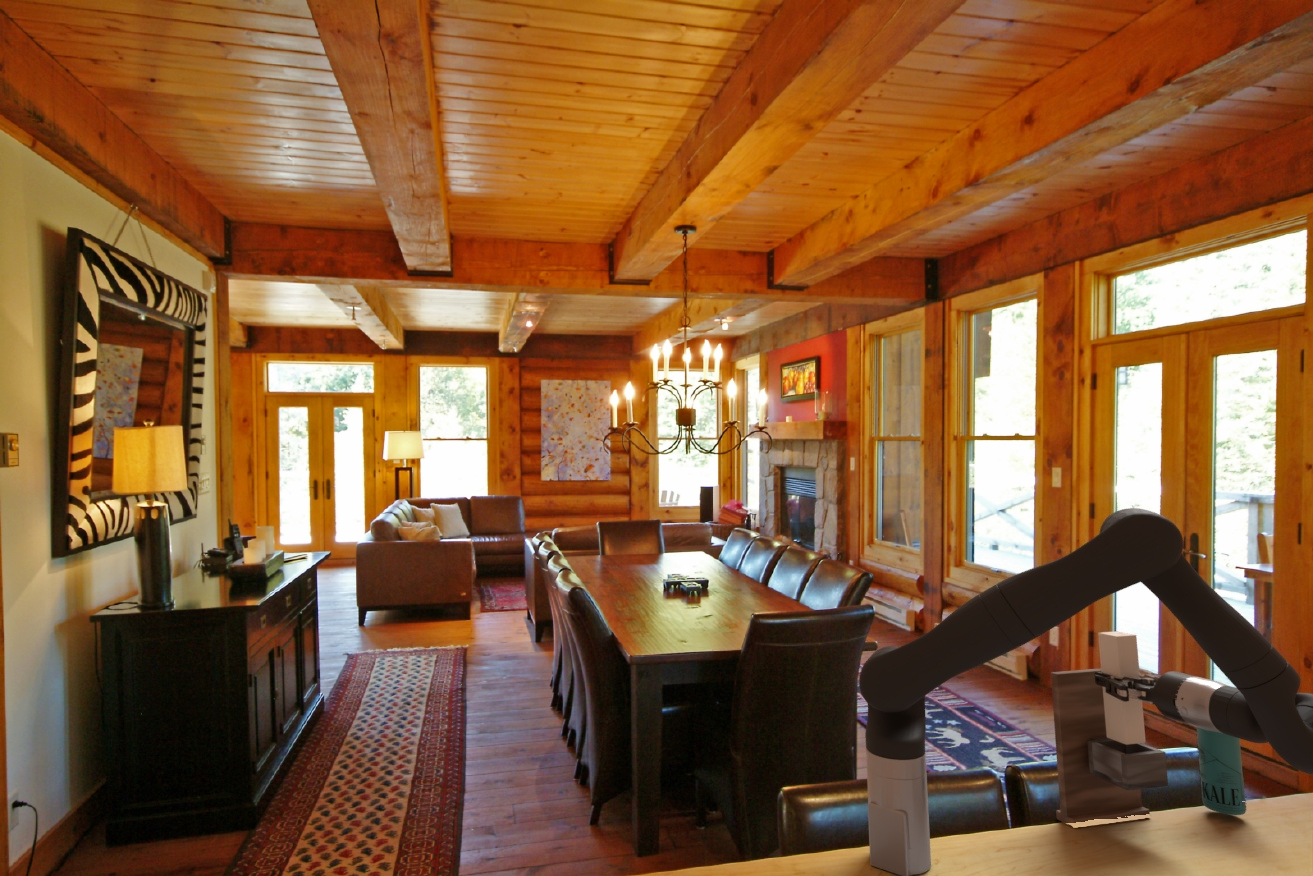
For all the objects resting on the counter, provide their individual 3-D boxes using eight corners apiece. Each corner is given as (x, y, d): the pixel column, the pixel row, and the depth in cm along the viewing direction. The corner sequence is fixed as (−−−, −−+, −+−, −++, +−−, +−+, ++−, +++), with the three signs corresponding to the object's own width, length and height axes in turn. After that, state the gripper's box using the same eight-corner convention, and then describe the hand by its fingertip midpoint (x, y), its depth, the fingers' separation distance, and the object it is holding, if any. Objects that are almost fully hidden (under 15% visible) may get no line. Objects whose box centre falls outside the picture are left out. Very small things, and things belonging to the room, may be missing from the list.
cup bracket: (1192, 839, 119) (1179, 680, 122) (1112, 850, 116) (1100, 687, 118) (1130, 809, 131) (1119, 665, 133) (1056, 819, 128) (1046, 671, 130)
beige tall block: (1145, 742, 121) (1136, 635, 123) (1126, 744, 121) (1116, 636, 122) (1125, 735, 125) (1116, 631, 127) (1106, 737, 124) (1098, 632, 126)
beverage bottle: (1231, 809, 130) (1221, 697, 132) (1258, 825, 124) (1247, 707, 126) (1193, 808, 131) (1184, 697, 133) (1218, 824, 124) (1208, 707, 126)
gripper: (1233, 673, 112) (1138, 652, 129) (1158, 680, 109) (1071, 658, 126) (1238, 723, 111) (1142, 695, 128) (1163, 731, 108) (1074, 701, 125)
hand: (1107, 677), depth 127 cm, fingers closed on beige tall block, 4 cm apart
